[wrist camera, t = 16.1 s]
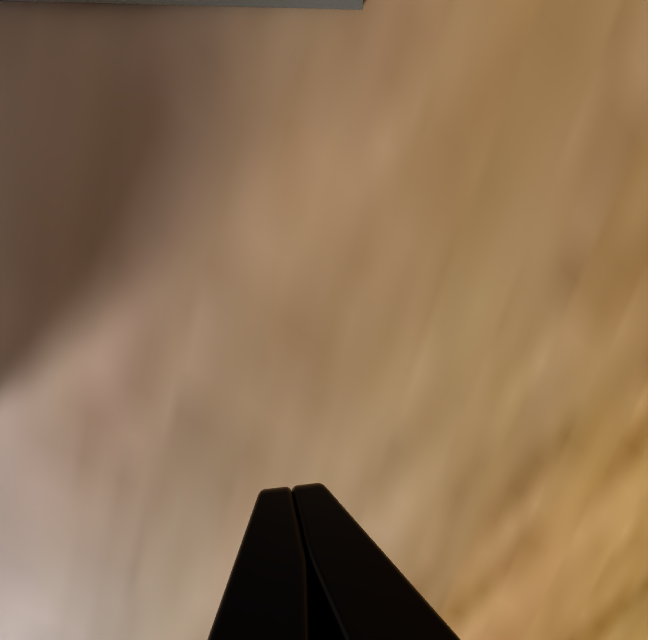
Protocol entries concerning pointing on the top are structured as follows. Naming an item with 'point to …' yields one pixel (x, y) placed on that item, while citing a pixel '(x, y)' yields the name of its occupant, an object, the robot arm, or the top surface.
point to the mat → (235, 3)
